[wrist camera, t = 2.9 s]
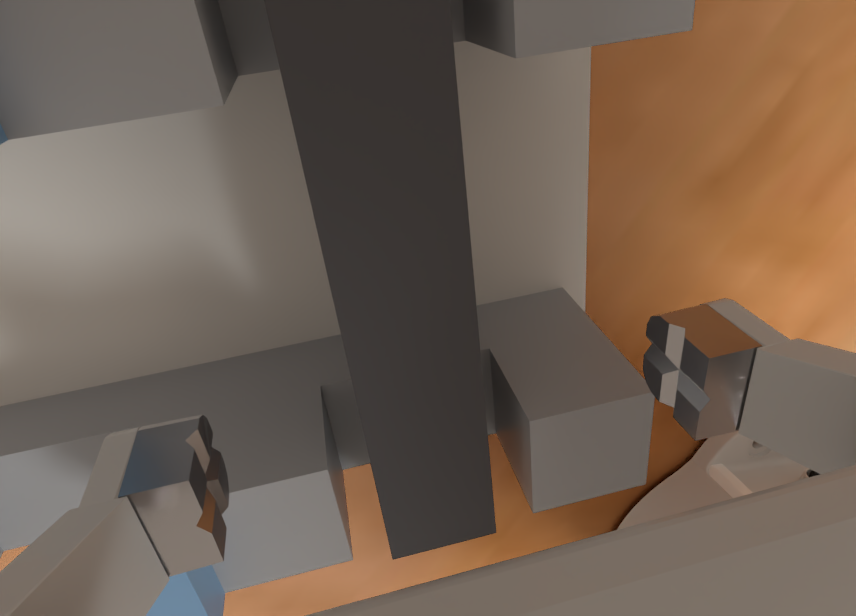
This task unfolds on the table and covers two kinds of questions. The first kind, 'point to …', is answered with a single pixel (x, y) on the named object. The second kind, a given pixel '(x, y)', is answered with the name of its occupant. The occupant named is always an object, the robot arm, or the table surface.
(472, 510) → the dark square rod
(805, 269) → the table surface
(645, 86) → the table surface
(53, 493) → the grey slotted fixture rack
